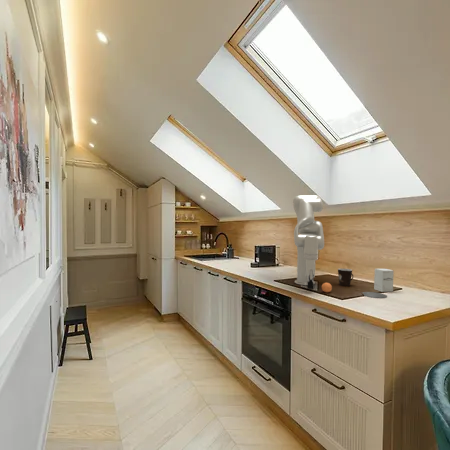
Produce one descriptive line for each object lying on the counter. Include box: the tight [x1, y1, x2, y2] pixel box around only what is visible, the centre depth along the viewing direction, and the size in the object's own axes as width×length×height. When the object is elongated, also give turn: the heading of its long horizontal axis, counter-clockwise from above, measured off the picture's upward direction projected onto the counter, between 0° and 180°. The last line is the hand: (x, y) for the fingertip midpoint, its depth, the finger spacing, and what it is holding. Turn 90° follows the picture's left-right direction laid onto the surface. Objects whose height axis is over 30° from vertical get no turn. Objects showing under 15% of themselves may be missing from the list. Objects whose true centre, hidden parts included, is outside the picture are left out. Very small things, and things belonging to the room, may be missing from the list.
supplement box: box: [373, 268, 395, 293], centre depth 174 cm, size 7×7×13 cm
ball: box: [321, 282, 333, 293], centre depth 168 cm, size 6×6×6 cm
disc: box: [361, 291, 388, 299], centre depth 163 cm, size 13×13×1 cm
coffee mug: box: [337, 268, 354, 287], centre depth 186 cm, size 12×9×10 cm
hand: (310, 288), depth 169 cm, fingers closed
